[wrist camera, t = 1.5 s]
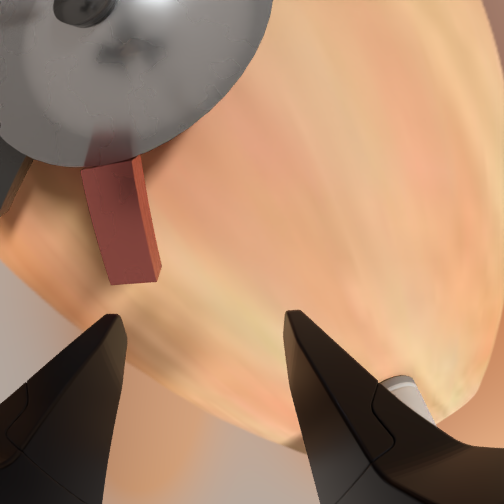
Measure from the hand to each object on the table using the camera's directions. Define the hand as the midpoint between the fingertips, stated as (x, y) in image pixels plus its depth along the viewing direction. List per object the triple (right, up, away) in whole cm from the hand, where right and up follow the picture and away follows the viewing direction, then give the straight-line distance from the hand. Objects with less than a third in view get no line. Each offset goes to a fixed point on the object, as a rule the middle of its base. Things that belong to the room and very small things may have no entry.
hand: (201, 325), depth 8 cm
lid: (-5, +10, +2) cm, 11 cm away
